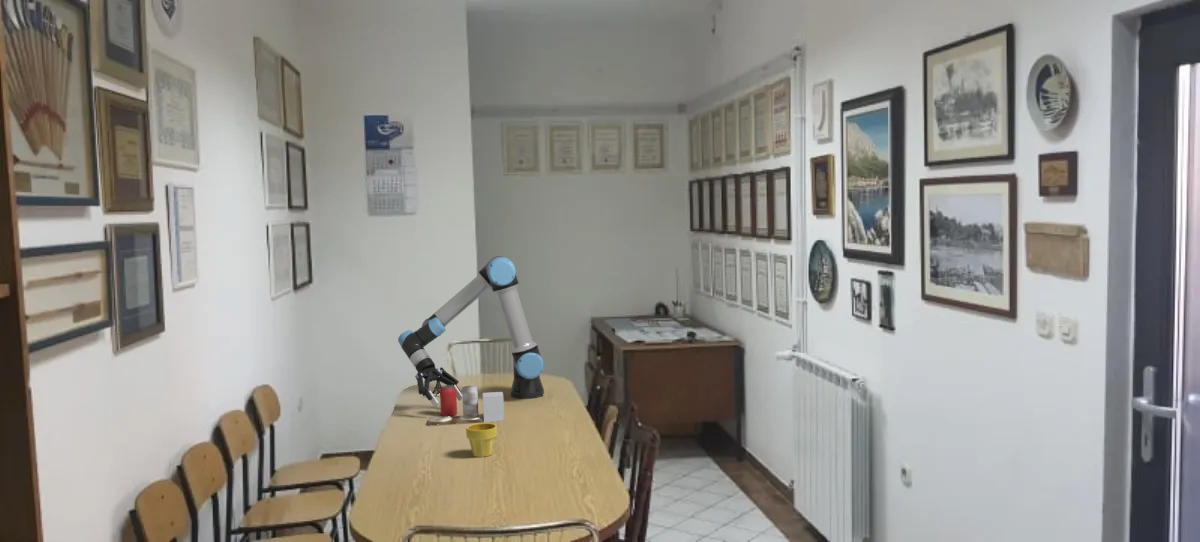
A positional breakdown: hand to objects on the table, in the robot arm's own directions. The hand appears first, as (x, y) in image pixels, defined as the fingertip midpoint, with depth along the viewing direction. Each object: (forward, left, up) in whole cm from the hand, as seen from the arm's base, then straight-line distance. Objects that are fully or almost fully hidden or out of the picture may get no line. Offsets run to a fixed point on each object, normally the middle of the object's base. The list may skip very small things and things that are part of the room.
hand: (449, 402), depth 353 cm
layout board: (-3, +11, -6) cm, 13 cm away
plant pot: (-13, +62, -6) cm, 64 cm away
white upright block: (-18, +11, -6) cm, 22 cm away
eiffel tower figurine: (+6, -45, -6) cm, 46 cm away
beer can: (0, -1, -6) cm, 6 cm away
